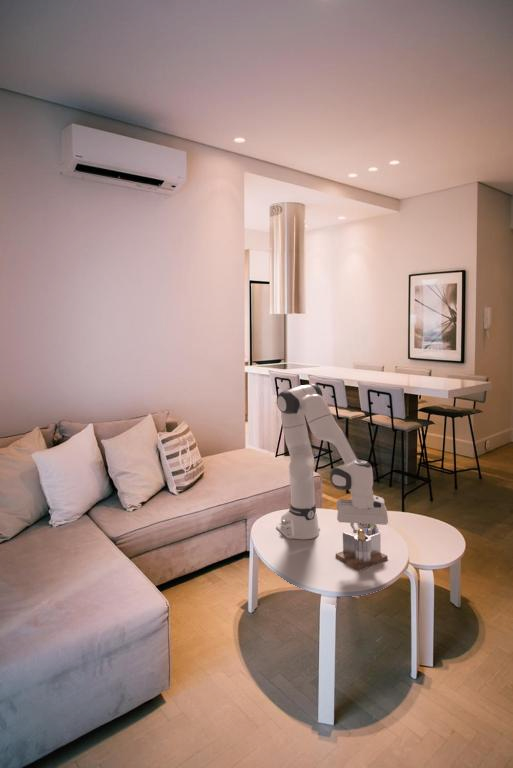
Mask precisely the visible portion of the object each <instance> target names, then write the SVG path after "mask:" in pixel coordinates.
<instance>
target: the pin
mask: <svg viewBox="0 0 513 768" xmlns="http://www.w3.org/2000/svg"><path fill="white" fill-rule="evenodd" d="M364 529H365V528H357V533H356V534H357V535H358V539H360V540H365V535H366V534H365V530H364Z"/></svg>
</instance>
